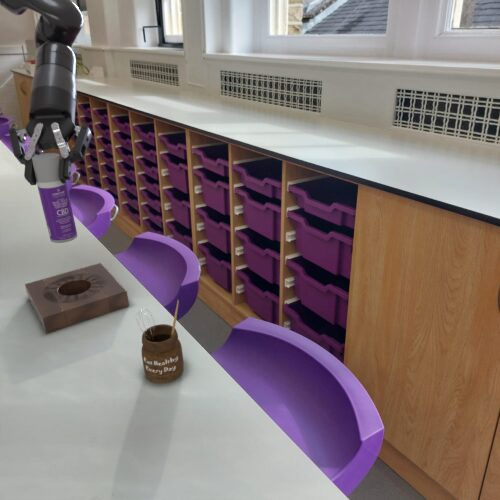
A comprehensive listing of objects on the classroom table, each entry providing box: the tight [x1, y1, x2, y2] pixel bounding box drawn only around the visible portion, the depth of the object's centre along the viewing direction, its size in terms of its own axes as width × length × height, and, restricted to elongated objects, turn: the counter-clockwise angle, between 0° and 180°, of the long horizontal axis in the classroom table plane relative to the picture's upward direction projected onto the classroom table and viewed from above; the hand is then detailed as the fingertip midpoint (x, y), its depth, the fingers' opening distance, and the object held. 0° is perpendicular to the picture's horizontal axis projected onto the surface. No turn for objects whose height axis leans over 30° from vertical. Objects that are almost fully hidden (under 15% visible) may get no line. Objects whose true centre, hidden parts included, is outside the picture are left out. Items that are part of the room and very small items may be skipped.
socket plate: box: [24, 262, 130, 335], centre depth 93 cm, size 15×15×4 cm
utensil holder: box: [135, 299, 185, 384], centre depth 71 cm, size 6×6×12 cm
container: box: [32, 152, 78, 244], centre depth 85 cm, size 5×5×15 cm
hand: (47, 181), depth 82 cm, fingers closed on container, 4 cm apart
